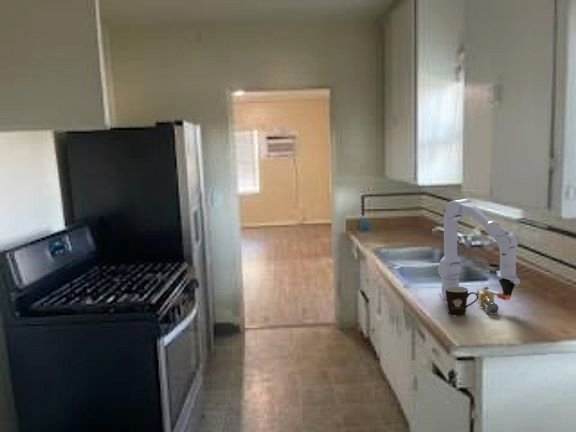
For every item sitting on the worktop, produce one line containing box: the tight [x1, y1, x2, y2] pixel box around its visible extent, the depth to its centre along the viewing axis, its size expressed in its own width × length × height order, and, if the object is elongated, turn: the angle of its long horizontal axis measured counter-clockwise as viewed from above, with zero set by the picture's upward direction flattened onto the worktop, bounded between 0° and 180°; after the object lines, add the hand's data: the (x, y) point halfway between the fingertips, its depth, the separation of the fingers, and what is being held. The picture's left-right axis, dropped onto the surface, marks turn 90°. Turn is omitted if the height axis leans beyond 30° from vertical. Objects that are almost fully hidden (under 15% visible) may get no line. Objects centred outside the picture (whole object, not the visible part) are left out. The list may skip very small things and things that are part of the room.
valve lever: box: [482, 286, 511, 301], centre depth 207 cm, size 14×3×2 cm, turn 18°
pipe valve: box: [476, 288, 499, 315], centre depth 210 cm, size 20×5×6 cm, turn 172°
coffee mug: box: [445, 285, 478, 317], centre depth 204 cm, size 12×9×10 cm
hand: (507, 297), depth 204 cm, fingers closed
